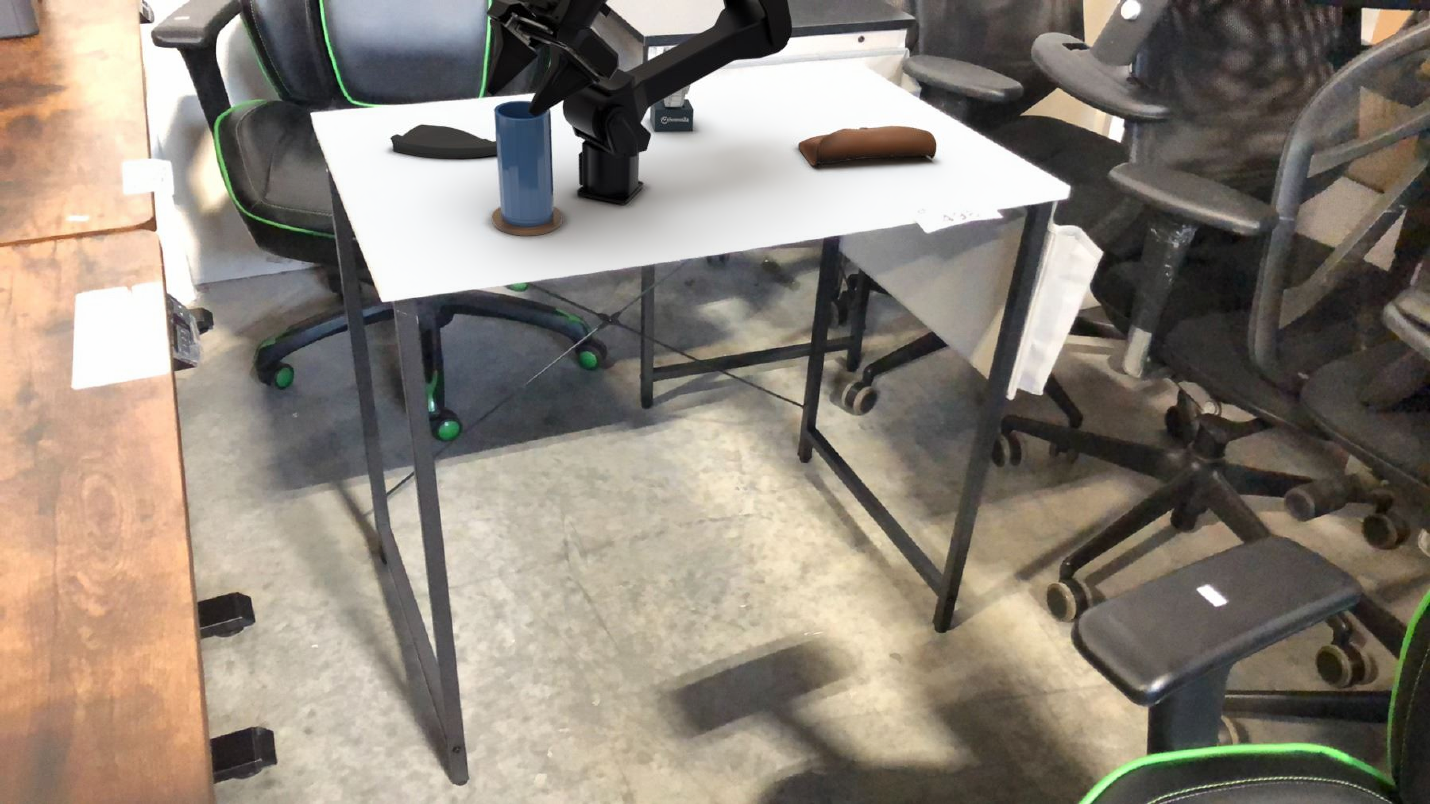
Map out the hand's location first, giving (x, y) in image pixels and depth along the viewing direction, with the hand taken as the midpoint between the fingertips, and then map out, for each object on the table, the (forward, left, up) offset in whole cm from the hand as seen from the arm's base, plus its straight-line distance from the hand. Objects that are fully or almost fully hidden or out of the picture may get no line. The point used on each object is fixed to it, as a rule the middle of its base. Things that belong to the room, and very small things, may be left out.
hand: (509, 103), depth 108 cm
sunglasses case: (-34, -39, -14) cm, 54 cm away
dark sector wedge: (+18, -15, -14) cm, 27 cm away
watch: (-6, -37, -14) cm, 40 cm away
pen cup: (-1, 0, -13) cm, 13 cm away
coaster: (-1, 0, -14) cm, 14 cm away
